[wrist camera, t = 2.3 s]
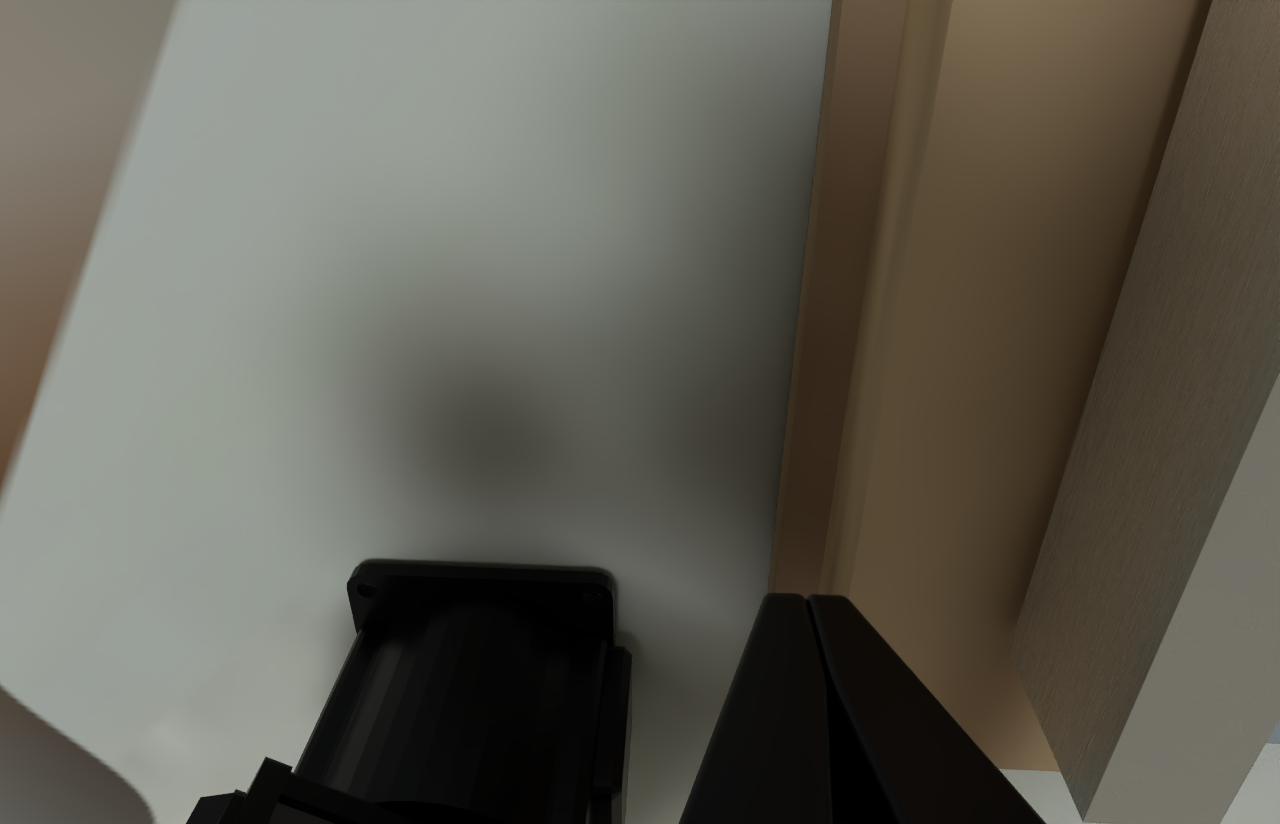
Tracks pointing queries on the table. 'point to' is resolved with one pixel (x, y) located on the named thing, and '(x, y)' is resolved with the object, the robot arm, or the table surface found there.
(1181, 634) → the lock bar
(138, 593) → the table surface
